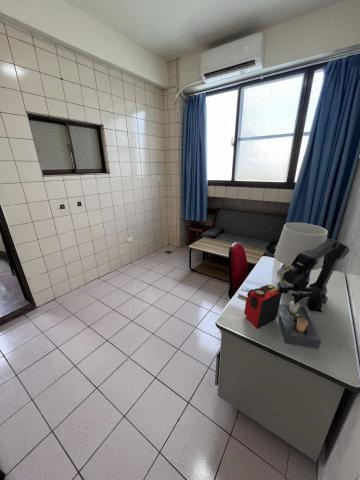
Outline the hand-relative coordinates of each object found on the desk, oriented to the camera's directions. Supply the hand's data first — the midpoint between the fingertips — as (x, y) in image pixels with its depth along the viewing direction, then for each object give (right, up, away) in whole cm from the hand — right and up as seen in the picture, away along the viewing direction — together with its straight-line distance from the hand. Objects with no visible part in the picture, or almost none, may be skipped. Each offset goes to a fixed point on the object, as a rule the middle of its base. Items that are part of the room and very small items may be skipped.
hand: (294, 303), depth 103 cm
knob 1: (0, -6, +2) cm, 6 cm away
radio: (-17, -10, +4) cm, 20 cm away
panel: (-1, -12, -2) cm, 12 cm away
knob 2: (-3, -10, -8) cm, 14 cm away
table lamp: (+16, +2, +33) cm, 37 cm away
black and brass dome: (-1, -7, -3) cm, 8 cm away
